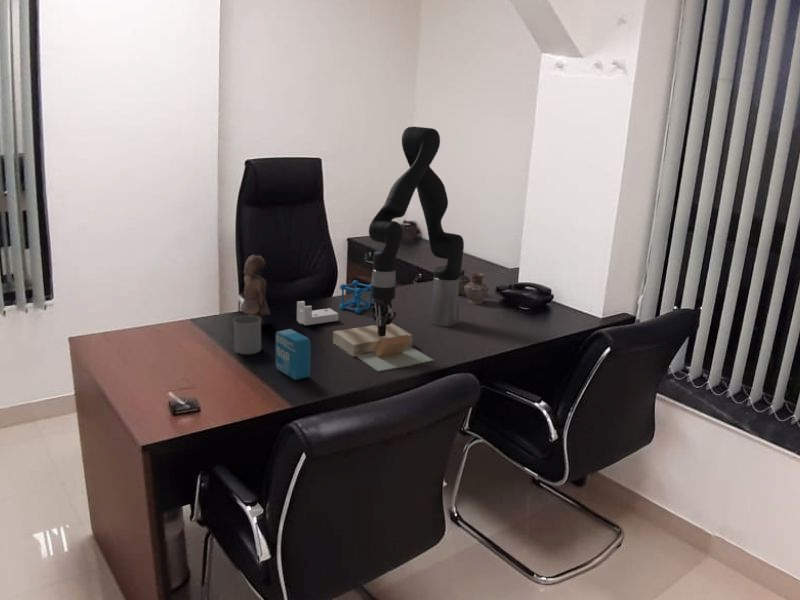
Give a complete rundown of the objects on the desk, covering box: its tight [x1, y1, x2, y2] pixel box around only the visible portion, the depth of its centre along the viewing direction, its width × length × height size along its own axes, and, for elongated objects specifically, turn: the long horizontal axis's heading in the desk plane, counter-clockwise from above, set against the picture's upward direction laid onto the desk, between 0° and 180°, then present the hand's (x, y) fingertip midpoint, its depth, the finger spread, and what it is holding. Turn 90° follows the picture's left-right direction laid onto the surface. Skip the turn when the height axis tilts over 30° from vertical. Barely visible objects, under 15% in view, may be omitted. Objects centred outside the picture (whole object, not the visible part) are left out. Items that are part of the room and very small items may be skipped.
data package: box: [275, 328, 312, 381], centre depth 198 cm, size 12×4×12 cm, turn 41°
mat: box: [356, 346, 435, 373], centre depth 214 cm, size 20×14×1 cm
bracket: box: [296, 300, 339, 326], centre depth 245 cm, size 13×7×8 cm, turn 121°
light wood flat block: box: [332, 322, 414, 357], centre depth 225 cm, size 22×14×4 cm, turn 122°
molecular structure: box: [339, 279, 373, 314], centre depth 262 cm, size 10×10×10 cm
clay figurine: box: [240, 254, 271, 326], centre depth 237 cm, size 13×10×25 cm
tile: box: [375, 335, 411, 357], centre depth 214 cm, size 9×7×2 cm
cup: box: [232, 314, 262, 355], centre depth 215 cm, size 8×8×10 cm
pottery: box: [458, 267, 489, 305], centre depth 283 cm, size 11×25×12 cm, turn 29°
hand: (381, 335), depth 220 cm, fingers closed
